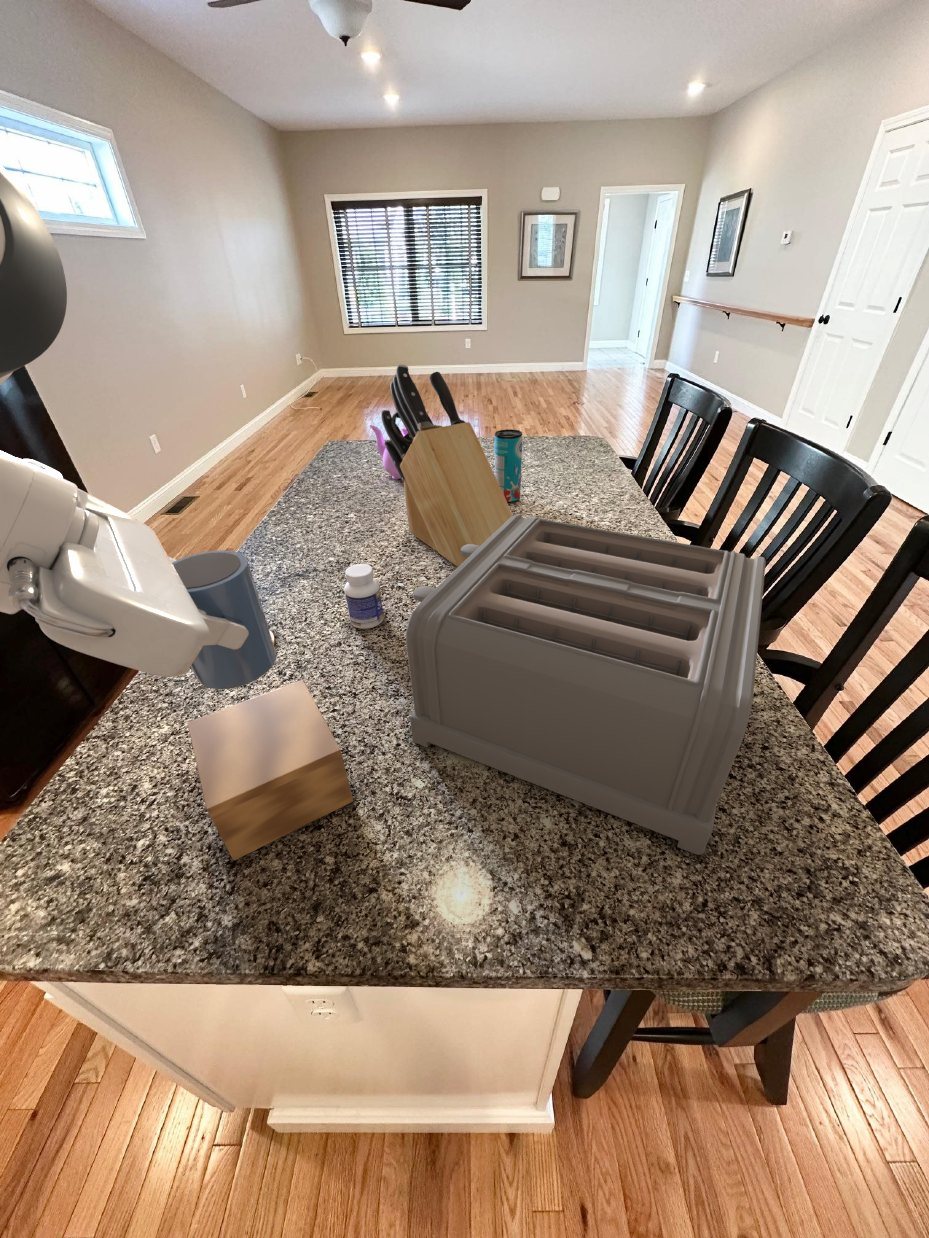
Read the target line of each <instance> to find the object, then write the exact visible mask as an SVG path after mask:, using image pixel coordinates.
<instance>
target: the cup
mask: <svg viewBox="0 0 929 1238" xmlns="http://www.w3.org/2000/svg"><path fill="white" fill-rule="evenodd" d="M176 560H177V561H175V562H173V563H172V564H173V566H174V568H175V570H176V571H177V573H178V575H179V577H180V579H181V580H182V582H183V584H184V586H185V587H186V589H187V591H188V593H189V595H190V596H191V598H192V600H193V602H194V603H195V605H196V607H197V609H200V610H202V611H204V612H206V614H207V615H209V616H214V617H219V618H222V616H223V615H225V616H228V617H231V618H233V619H237V620H240V621H241V622H242V623H243V625H244V626H245V627H246V629H247V630H248V632H249V635H248V637H247V638H246V640H245V642H244V643H243V645H242V647H240V648H239V649H234V650H233V649H230V648H227V647H223V646H220V645H217V644H216V645H206V646H203V647H202V649H201V651H200V652H199V654H198V656H197V657H196V659H195V660H194V662H193V663H192V665H191V666H190V668H191V669H192V671H193V673H194V676H195V678H196V680H197V681H198V683H199V684H200V685H201V686H204V687H205V688H207V689H212V690H230V689H235V688H240V687H243V686H246V685H249V684H250V683H252V682H254V681H256V680H258V679H260V678H261V677H263V676H264V675H265V674H267V673H268V672H269V671H271V669H272V667H273V666H274V664H275V663H276V660H277V651H276V648H275V643H274V644H273V641H272V638H271V634H270V631H271V630H270V628H269V625H268V621H267V619H266V615H265V612H264V609H263V606H262V603H261V600H260V596H259V593H258V590H257V586H256V583H255V580H254V577H253V574H252V570H251V567H250V563H249V561H248V558H247V557H246V556H245V555H244V554H242V553H241V552H238V551H235V550H227V549H226V550H224V549H223V550H222V549H219V550H210V551H208V550H207V551H202V552H198V553H193V554H191V555H187V556H184V557H182V558H178V559H176ZM269 630H270V631H269Z"/></svg>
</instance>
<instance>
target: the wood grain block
mask: <svg viewBox="0 0 929 1238" xmlns="http://www.w3.org/2000/svg"><path fill="white" fill-rule="evenodd" d="M186 723H187V729H188V733H189V736H190V741H191V746H192V750H193V756H194V760H195V765H196V768H197V773H198V777H199V781H200V786H201V790H202V796H203V800H204V804H205V809H206V811H207V814H208V815H209V818H210V820H211V821H212V823H213V824H214V826H215V829H216V830H217V831H218V834H219V836H220V838H221V840H222V842H223V843H224V846H225V847H226V849H227V851H228V853H229V855H230V857H231V859H232V861H236V860H239V859H240V858H242V857H244V856H247V855H248V854H251V853H253V852H254V851H256V850H259V849H261V848H262V847H264V846H266V845H268V844H270V843H273V842H274V841H277V840H279V839H280V838H282V837H285V836H287V835H289V834H290V833H292V832H295V831H297V830H299V829H301V828H303V827H305V826H307V825H309V824H311V823H313V822H315V821H317V820H318V819H319V820H320V819H322V818H323V817H324V816H327V815H329V814H331V813H333V812H335V811H337V810H339V809H341V808H343V807H345V806H347V805H349V804H351V803H353V802H354V797H353V793H352V790H351V786H350V781H349V778H348V774H347V769H346V766H345V762H344V761H345V760H344V758H343V754H342V750H341V748H340V746H339V744H338V742H337V740H336V738H335V737H334V735H333V733H332V731H331V729H330V727H329V725H328V724H327V721H326V719H325V718H324V715H323V714H322V712H321V710H320V708H319V707H318V705H317V702H316V701H315V699H314V697H313V695H312V693H311V691H310V689H309V688H308V686H307V683H306V682H305V680H304V678H303V679H300V680H297V681H294V682H292V683H289V684H286V685H283V686H280V687H278V688H275V689H273V690H270V691H268V692H267V691H266V692H265V693H262V694H259V695H257V696H255V697H252V698H249V699H247V700H244V701H241V702H238V703H235V704H233V705H230V706H228V707H225V708H222V709H220V710H217V711H215V712H212V713H209V714H206V715H204V716H201V717H199V718H196V719H194V720H190V721H188V722H186Z"/></svg>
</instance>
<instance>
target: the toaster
mask: <svg viewBox="0 0 929 1238" xmlns="http://www.w3.org/2000/svg"><path fill="white" fill-rule="evenodd" d="M512 515H513V516H512V517H510V518H509V519H508V520H507V521H506V522H505V523H504V524H503V525H502V526H501V527H500V528H499V529H498V530H497V531H496V532H495V533H494V534H493V535H491V536H490V537H489V538H488V539H487V540H486V541H485V542H484V543H483V544H482V545H481V546H479V545H474V544H467V545H464V546H463V547H462V548H461V554H462V555H463V556H466V557H468V558H467V559H466V560H465V561H464V562H463V563H462V564H461V565H460V566H459V567H456V568H455V569H454V570H453V571H452V572H451V573H450V574H449V575H448V576H447V577H446V578H445V579H444V580H442V582H440V584H438V586H436V587H433V586H429V585H421V586H418V587H416V588H415V589H414V590H413V591H412V592H413V593H412V594H413V595H412V597H413V599H414V600H415V601H417V602H420V603H418V604H417V605H416V607H415V608H414V610H413V611H412V612H411V614H410V616H409V619H408V622H407V626H406V629H405V645H406V652H407V654H406V655H407V661H408V662H407V663H408V668H409V670H408V671H409V678H410V684H411V685H410V686H411V693H412V701H413V707H414V708H413V712H411V714H410V717H409V720H410V721H409V722H410V728H411V736H412V737H411V738H412V741H413V743H415V744H417V745H420V746H423V747H425V748H429V746H430V745H433V746H436V747H439V748H442V749H445V750H447V751H449V752H452V753H454V754H458V755H460V756H462V757H464V758H467V759H471V760H473V761H475V762H477V763H480V764H483V765H485V766H487V767H490V768H493V769H496V770H498V771H500V772H503V773H506V774H507V775H512V776H514V777H516V778H518V779H520V780H523V781H526V782H528V783H531V784H533V785H536V786H538V787H540V788H544V789H545V790H548V791H552V792H554V793H556V794H558V795H562V796H564V797H567V798H569V799H572V800H574V801H577V802H579V803H582V804H584V805H587V806H590V807H591V808H595V809H598V810H600V811H602V812H605V813H607V814H610V815H613V816H615V817H617V818H620V819H623V820H625V821H628V822H631V823H632V824H636V825H638V826H641V827H643V828H645V829H648V830H651V831H653V832H655V833H658V834H661V835H663V836H666V837H668V838H671V839H673V840H676V841H677V848H678V849H681V850H684V851H686V852H689V853H692V854H694V855H697V856H702V855H703V853H704V852H705V850H706V847H707V845H708V843H709V840H710V838H711V835H712V833H713V831H714V825H715V819H716V811H717V806H718V805H717V804H718V802H719V799H720V797H721V794H722V792H723V789H724V787H725V784H726V783H727V780H728V777H729V774H730V772H731V770H732V768H733V765H734V762H735V760H736V757H737V755H738V753H739V751H740V748H741V745H742V743H743V740H744V737H745V734H746V730H747V727H748V724H749V720H750V715H751V712H752V707H753V702H754V701H753V700H754V691H755V681H756V670H757V659H758V649H759V639H760V638H759V637H760V630H761V629H760V628H761V617H762V605H763V595H764V586H765V575H766V574H765V573H766V563H767V560H766V559H765V557H764V556H760V555H759V556H756V557H754V558H752V557H751V558H750V557H747V556H746V555H745V553H741V552H736V551H735V550H732V551H729V550H723V549H716V548H711V547H705V546H699V545H694V544H688V543H681V542H677V541H670V540H664V539H659V538H653V537H648V536H642V535H636V534H632V533H625V532H619V531H613V530H608V529H602V528H596V527H591V526H585V525H579V524H573V523H567V522H561V521H555V520H550V519H544V518H541V517H540V516H536V517H534V516H527V517H526V518H524V517H523V516H522V515H521V514H512Z"/></svg>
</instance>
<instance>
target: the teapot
mask: <svg viewBox="0 0 929 1238" xmlns="http://www.w3.org/2000/svg"><path fill="white" fill-rule="evenodd" d="M369 428H371V430H372V431H373V432H374V434H375V437H376V446H377V451H378V454H379V455H380V457H382V467H383V469H384V470H385V471H386V472H387V473H388V474H389V475H390V476H392V477H391V479H392V480H401V477H400V475H399V473H398V471H397V469H396V467H395V465H394V463H393V460H392V458H391V456H390V454H389V452H388V450H387V449H386V447H385V441H386V440H385V439H384V436H383V433H382V431H381V429H380V428H379V427H377V426H375V425H372V424H369ZM400 431H401V433H402V434H403V436H405V435H406V434H407V433H408V431H407V429H406V428H405V426H403V427H401V430H400ZM388 440H390V438H388Z"/></svg>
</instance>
